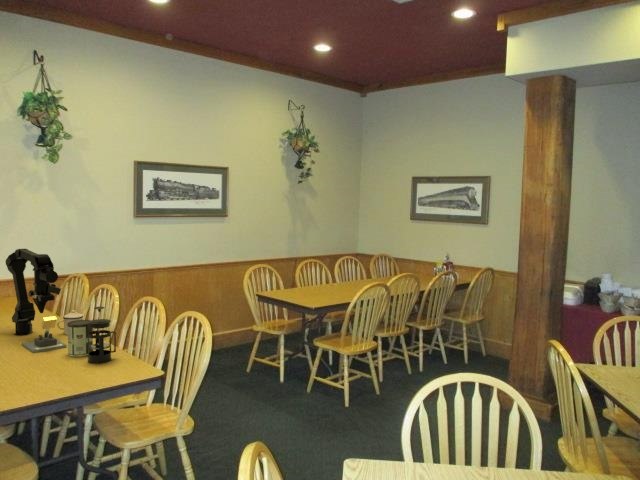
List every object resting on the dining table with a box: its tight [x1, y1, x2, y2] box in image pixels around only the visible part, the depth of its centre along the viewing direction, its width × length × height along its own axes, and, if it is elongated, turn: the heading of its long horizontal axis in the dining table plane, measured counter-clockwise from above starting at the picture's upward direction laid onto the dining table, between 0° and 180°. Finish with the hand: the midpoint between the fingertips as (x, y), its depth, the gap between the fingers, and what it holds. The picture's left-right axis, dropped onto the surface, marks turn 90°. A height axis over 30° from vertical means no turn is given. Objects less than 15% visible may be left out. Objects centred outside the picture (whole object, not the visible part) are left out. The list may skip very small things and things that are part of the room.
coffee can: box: [67, 319, 94, 358], centre depth 235 cm, size 10×10×14 cm
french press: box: [87, 306, 117, 365], centre depth 226 cm, size 12×9×23 cm
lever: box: [41, 315, 57, 338], centre depth 240 cm, size 2×5×11 cm
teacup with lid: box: [56, 309, 84, 336], centre depth 268 cm, size 12×9×12 cm
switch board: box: [21, 332, 67, 354], centre depth 245 cm, size 16×14×6 cm
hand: (41, 313), depth 255 cm, fingers closed
